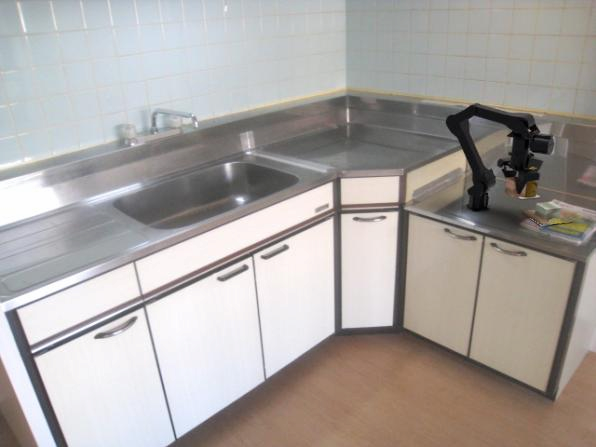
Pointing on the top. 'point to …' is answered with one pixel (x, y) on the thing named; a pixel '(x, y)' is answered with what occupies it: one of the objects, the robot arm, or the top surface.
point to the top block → (513, 188)
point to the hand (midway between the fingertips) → (515, 191)
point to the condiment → (531, 187)
